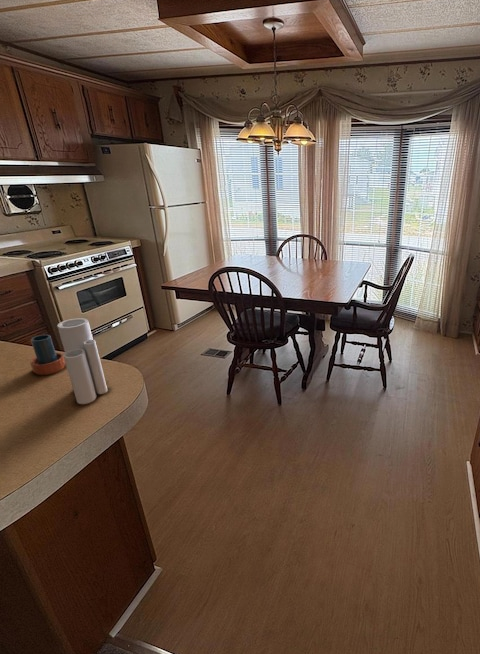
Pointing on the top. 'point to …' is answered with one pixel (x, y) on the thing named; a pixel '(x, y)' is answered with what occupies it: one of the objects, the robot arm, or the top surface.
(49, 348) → the cup
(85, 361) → the vase
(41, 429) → the top surface
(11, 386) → the top surface
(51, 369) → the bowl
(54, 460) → the top surface
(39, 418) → the top surface
